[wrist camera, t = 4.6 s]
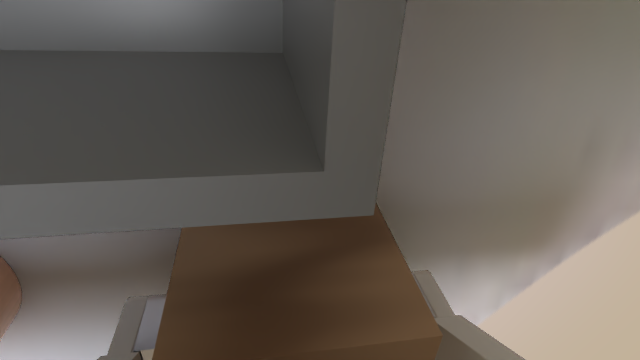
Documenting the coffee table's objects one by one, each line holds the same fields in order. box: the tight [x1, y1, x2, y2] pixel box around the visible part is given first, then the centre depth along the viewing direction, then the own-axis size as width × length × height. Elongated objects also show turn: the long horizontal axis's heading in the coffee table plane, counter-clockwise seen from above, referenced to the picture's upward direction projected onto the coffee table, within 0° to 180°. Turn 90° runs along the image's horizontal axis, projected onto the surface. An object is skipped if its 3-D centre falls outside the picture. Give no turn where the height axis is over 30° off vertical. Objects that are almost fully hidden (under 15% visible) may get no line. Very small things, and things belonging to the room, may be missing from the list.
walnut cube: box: [152, 204, 443, 360], centre depth 10 cm, size 5×5×5 cm
